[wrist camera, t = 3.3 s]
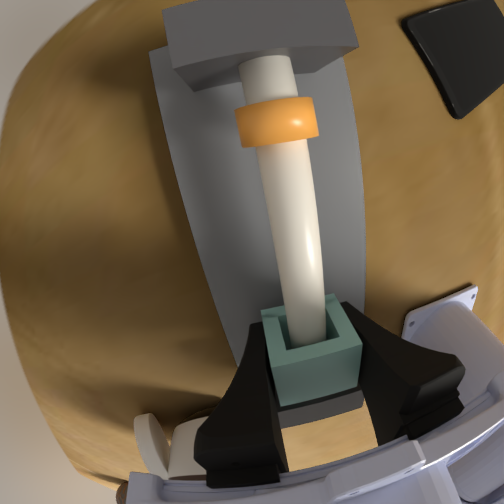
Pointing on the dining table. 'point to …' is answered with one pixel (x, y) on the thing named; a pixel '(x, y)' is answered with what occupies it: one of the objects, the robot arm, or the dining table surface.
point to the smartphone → (461, 50)
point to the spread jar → (170, 447)
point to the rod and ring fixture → (268, 164)
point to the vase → (122, 493)
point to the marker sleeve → (313, 356)
